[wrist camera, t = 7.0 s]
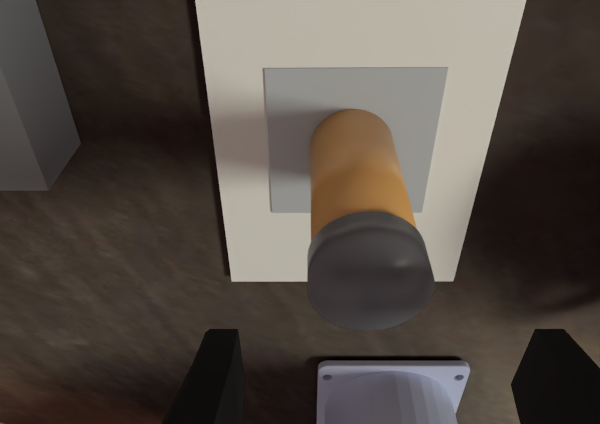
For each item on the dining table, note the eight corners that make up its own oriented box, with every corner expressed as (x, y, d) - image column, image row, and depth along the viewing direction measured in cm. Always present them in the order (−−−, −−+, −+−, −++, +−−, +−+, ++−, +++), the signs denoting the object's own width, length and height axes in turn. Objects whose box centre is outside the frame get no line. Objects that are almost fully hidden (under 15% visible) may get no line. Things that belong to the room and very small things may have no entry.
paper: (451, 276, 23) (453, 282, 22) (232, 276, 23) (231, 282, 23) (540, -75, 14) (546, -72, 14) (188, -72, 14) (185, -70, 14)
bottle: (389, 183, 19) (422, 331, 14) (306, 182, 19) (305, 329, 14) (401, 107, 17) (446, 244, 12) (308, 105, 17) (309, 241, 12)
